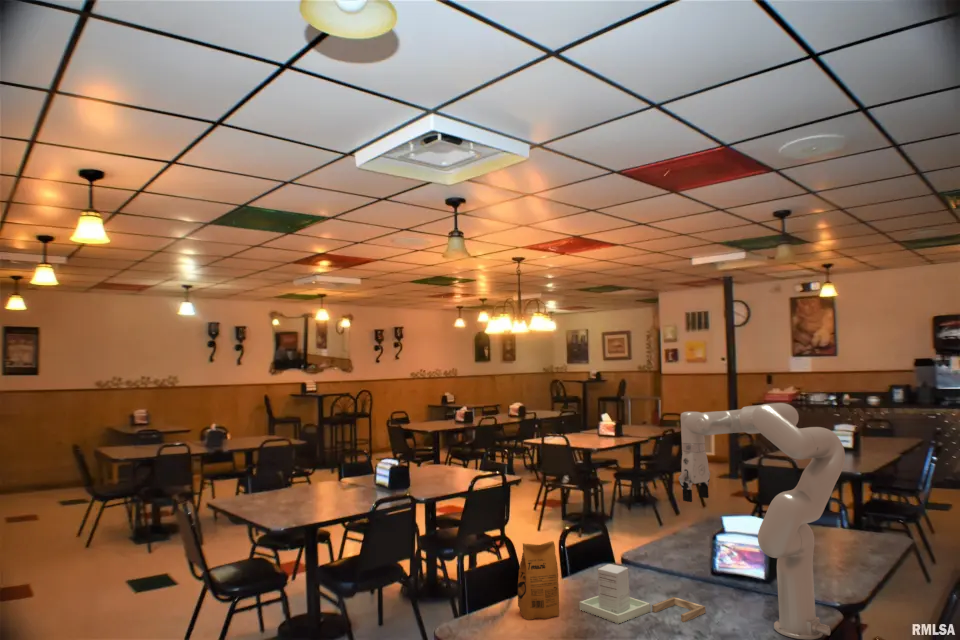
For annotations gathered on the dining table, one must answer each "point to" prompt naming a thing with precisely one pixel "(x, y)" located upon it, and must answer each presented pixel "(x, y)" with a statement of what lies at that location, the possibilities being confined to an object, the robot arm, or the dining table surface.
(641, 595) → the dining table surface
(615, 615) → the tray
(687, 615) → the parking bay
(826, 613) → the dining table surface
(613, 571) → the supplement box
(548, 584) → the coffee package
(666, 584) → the dining table surface
